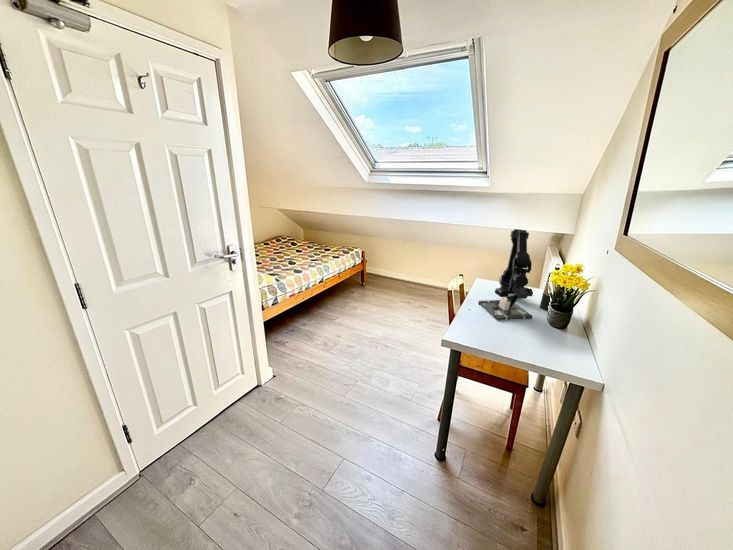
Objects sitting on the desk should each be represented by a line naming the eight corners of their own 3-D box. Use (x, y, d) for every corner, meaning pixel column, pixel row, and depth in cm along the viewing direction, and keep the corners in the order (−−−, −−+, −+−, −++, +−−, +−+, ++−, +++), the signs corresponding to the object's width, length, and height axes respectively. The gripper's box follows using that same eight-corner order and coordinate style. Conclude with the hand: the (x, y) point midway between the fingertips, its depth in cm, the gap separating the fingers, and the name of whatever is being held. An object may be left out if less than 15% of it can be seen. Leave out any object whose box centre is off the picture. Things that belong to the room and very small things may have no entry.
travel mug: (550, 305, 168) (561, 273, 161) (557, 312, 161) (568, 278, 154) (536, 304, 169) (546, 271, 162) (542, 310, 162) (553, 277, 155)
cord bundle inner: (478, 303, 167) (478, 300, 166) (510, 302, 170) (510, 299, 169) (480, 305, 165) (480, 301, 164) (512, 304, 168) (513, 300, 167)
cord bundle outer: (495, 318, 151) (495, 315, 151) (529, 316, 155) (530, 313, 154) (497, 320, 149) (498, 317, 149) (532, 318, 153) (533, 315, 152)
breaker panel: (480, 305, 164) (481, 302, 164) (512, 304, 168) (513, 301, 167) (494, 318, 151) (495, 315, 151) (529, 316, 155) (530, 313, 154)
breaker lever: (498, 306, 161) (500, 297, 159) (502, 305, 161) (504, 297, 159) (504, 310, 156) (506, 301, 154) (508, 310, 157) (510, 301, 155)
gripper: (510, 286, 144) (503, 314, 150) (544, 285, 148) (536, 313, 153) (497, 277, 155) (491, 304, 160) (529, 277, 158) (521, 303, 164)
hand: (510, 306), depth 159 cm, fingers closed
